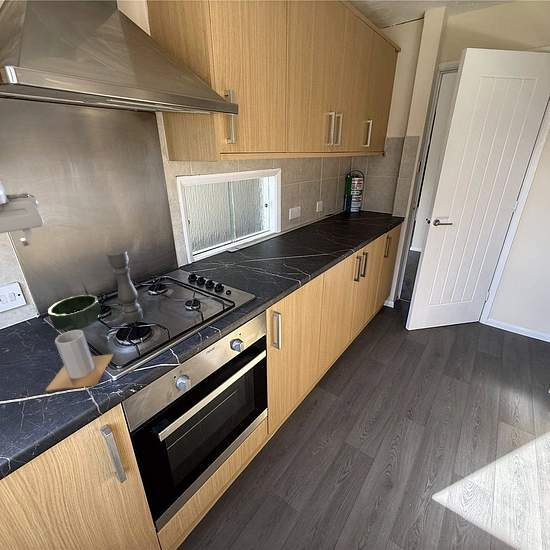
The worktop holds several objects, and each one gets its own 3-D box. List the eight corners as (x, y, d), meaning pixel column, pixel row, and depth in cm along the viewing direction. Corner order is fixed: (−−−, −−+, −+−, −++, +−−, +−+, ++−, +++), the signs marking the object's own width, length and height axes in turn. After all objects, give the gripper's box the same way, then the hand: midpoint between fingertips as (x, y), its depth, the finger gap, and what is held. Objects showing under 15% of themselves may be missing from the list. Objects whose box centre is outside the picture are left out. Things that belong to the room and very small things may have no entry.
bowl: (45, 332, 97) (38, 317, 95) (67, 311, 111) (62, 296, 108) (91, 328, 99) (86, 312, 97) (108, 307, 112) (104, 293, 110)
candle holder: (120, 323, 101) (101, 255, 91) (131, 314, 107) (114, 249, 97) (136, 324, 100) (119, 255, 90) (146, 315, 106) (131, 249, 96)
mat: (45, 391, 73) (45, 390, 73) (69, 360, 84) (69, 358, 84) (96, 385, 74) (96, 383, 74) (113, 355, 85) (113, 353, 85)
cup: (63, 380, 76) (49, 345, 71) (75, 364, 81) (62, 330, 77) (88, 377, 77) (76, 342, 72) (98, 361, 82) (87, 328, 78)
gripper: (31, 191, 83) (47, 238, 88) (-76, 201, 69) (-48, 257, 74) (36, 193, 79) (53, 242, 84) (-75, 204, 65) (-47, 262, 70)
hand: (5, 249), depth 79 cm, fingers open, 8 cm apart
